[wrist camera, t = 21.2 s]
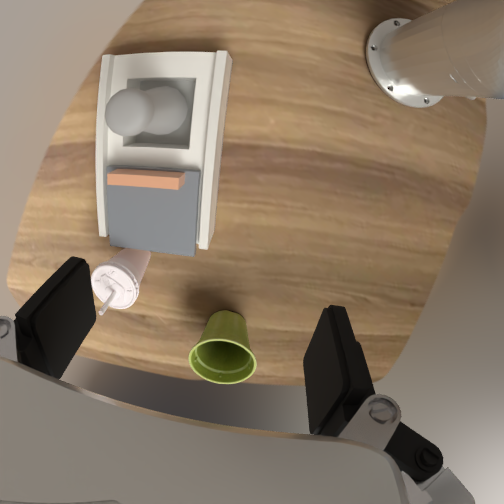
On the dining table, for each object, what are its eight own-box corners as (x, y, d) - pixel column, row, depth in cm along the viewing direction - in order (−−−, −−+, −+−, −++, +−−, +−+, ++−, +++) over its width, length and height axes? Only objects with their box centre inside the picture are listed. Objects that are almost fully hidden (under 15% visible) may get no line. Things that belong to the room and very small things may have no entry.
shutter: (110, 164, 31) (95, 171, 28) (200, 170, 31) (193, 177, 28) (113, 242, 36) (101, 255, 32) (195, 252, 36) (189, 267, 33)
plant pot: (238, 291, 44) (234, 330, 37) (267, 334, 48) (267, 373, 40) (187, 313, 47) (175, 351, 39) (218, 351, 50) (212, 390, 42)
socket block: (125, 61, 30) (102, 55, 24) (232, 60, 30) (227, 50, 25) (119, 218, 40) (99, 236, 34) (214, 229, 40) (207, 249, 34)
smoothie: (135, 277, 44) (97, 336, 31) (112, 243, 41) (64, 295, 29) (167, 262, 42) (134, 323, 30) (144, 224, 40) (99, 276, 27)
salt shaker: (137, 110, 32) (81, 114, 20) (171, 78, 30) (126, 64, 19) (166, 142, 34) (121, 160, 22) (201, 111, 32) (169, 112, 21)
